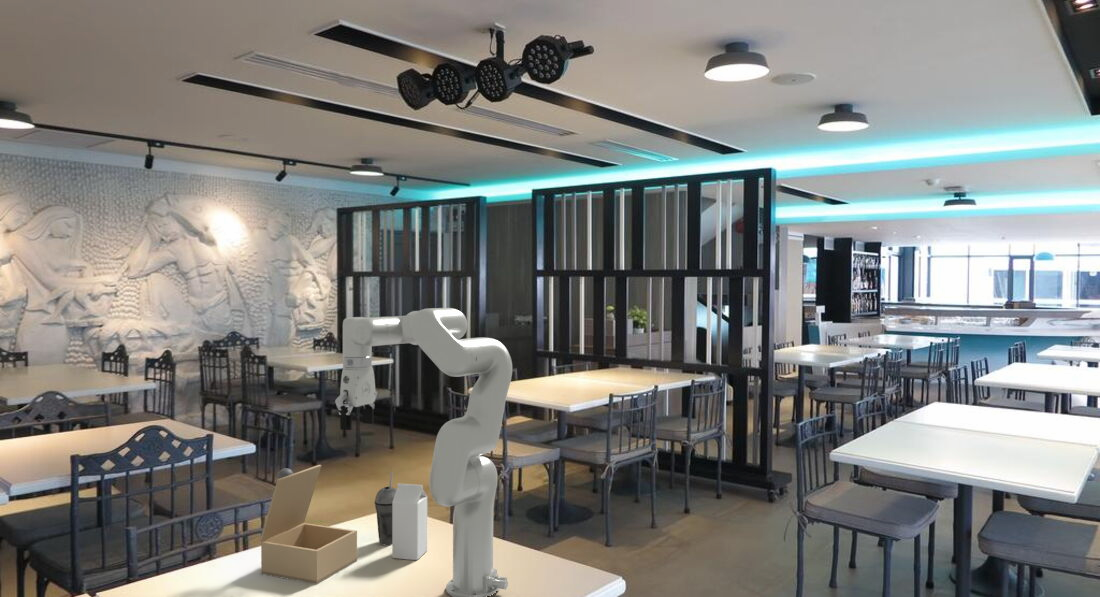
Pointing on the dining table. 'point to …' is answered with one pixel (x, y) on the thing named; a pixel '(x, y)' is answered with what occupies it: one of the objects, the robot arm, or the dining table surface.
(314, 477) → the flap
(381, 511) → the beverage cup
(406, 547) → the milk carton
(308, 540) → the light brown open box
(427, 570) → the dining table surface
